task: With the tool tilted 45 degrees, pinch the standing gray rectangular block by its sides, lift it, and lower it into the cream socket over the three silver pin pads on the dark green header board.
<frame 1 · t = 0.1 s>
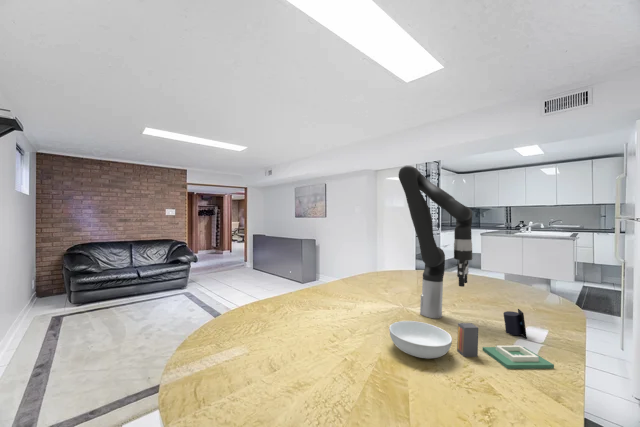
hand: (463, 284, 128), 17 cm above the table, tool pointing down, fingers open, 8 cm apart
gray rectangular block: (467, 353, 98), on the table
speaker: (514, 334, 116), on the table
header board: (516, 358, 96), on the table
serving bowl: (419, 351, 99), on the table
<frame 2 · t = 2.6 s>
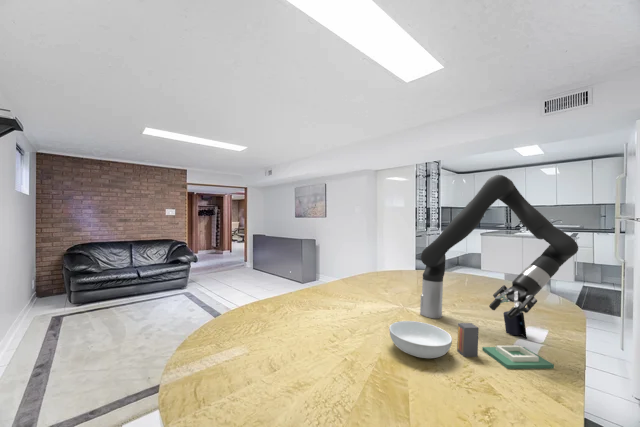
hand: (499, 312, 99), 14 cm above the table, tool tilted 45°, fingers open, 8 cm apart
nothing on the table moved.
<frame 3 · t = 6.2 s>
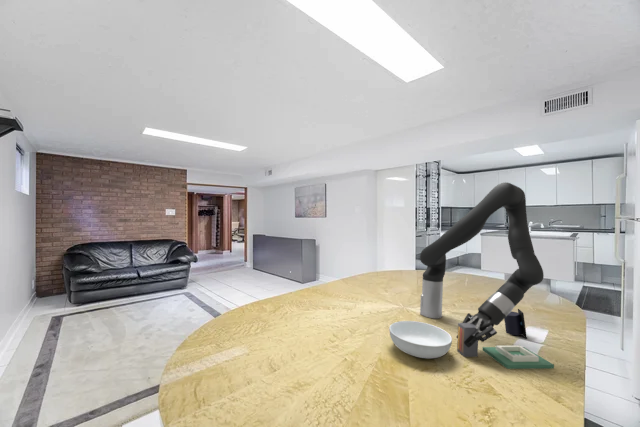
hand: (462, 342, 98), 4 cm above the table, tool tilted 45°, fingers closed on gray rectangular block, 4 cm apart
gray rectangular block: (467, 353, 98), on the table, touching gripper
everything else where it was.
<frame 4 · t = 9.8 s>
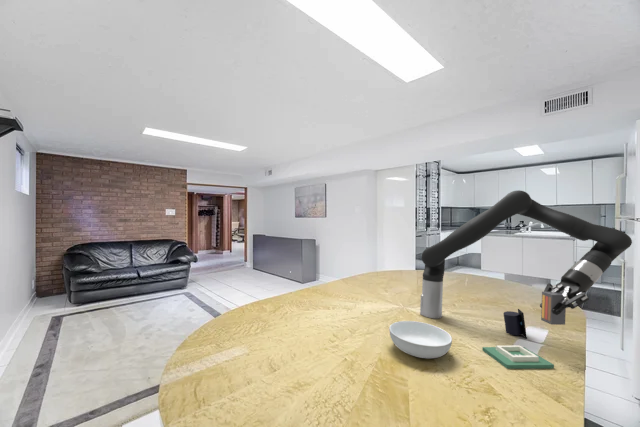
hand: (548, 310, 96), 17 cm above the table, tool tilted 45°, fingers closed on gray rectangular block, 4 cm apart
gray rectangular block: (552, 322, 97), point 13 cm above the table, touching gripper
everything else where it was.
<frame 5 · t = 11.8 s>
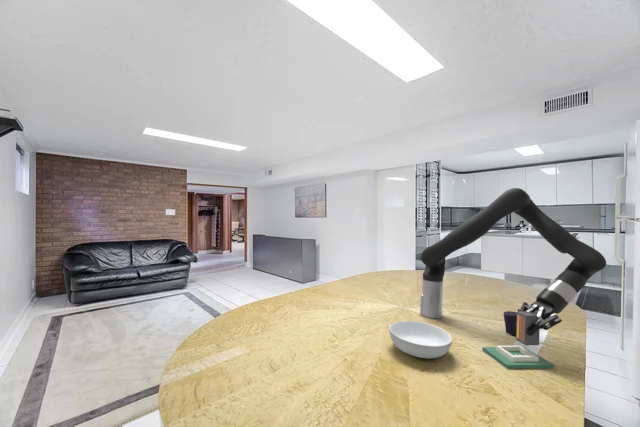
hand: (522, 330, 96), 10 cm above the table, tool tilted 45°, fingers closed on gray rectangular block, 4 cm apart
gray rectangular block: (527, 342, 96), point 6 cm above the table, touching gripper
everything else where it was.
when the fingers open (7 cm above the table, at t = 13.2 s): gray rectangular block drops 1 cm, resting on header board.
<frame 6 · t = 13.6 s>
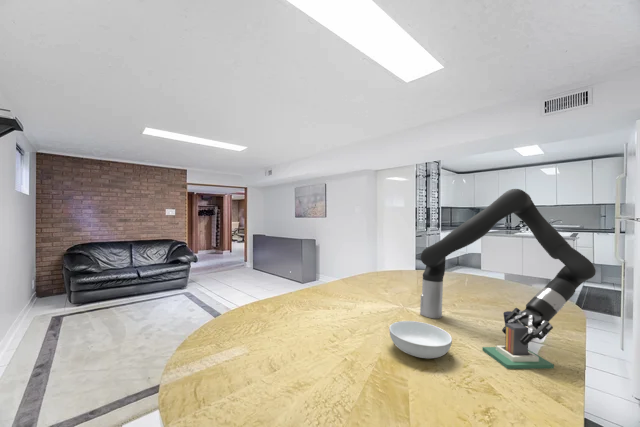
hand: (512, 337, 95), 7 cm above the table, tool tilted 45°, fingers open, 7 cm apart
gray rectangular block: (516, 355, 96), point 1 cm above the table, touching header board
everything else where it was.
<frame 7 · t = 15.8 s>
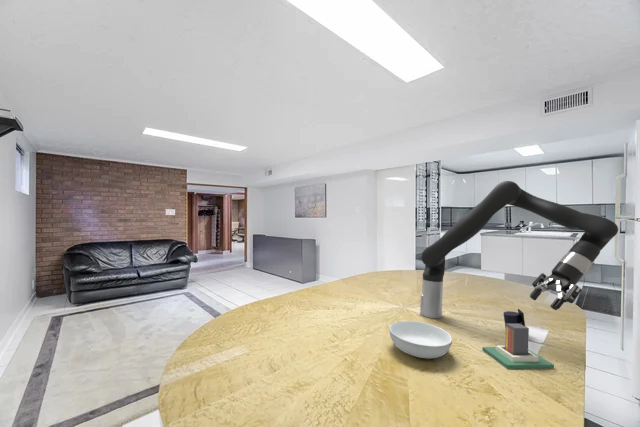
hand: (542, 303, 99), 18 cm above the table, tool tilted 35°, fingers open, 8 cm apart
nothing on the table moved.
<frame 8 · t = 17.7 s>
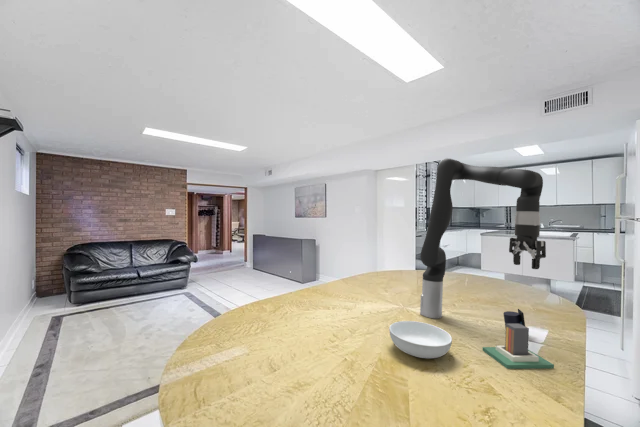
hand: (525, 266, 105), 30 cm above the table, tool pointing down, fingers open, 8 cm apart
nothing on the table moved.
at the end: gray rectangular block 0.1 cm off-centre on the header board, point 1.3 cm above the header board's base; gray rectangular block tilted 0°; the gripper is holding nothing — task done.
